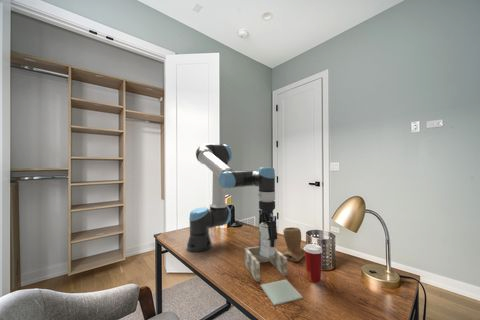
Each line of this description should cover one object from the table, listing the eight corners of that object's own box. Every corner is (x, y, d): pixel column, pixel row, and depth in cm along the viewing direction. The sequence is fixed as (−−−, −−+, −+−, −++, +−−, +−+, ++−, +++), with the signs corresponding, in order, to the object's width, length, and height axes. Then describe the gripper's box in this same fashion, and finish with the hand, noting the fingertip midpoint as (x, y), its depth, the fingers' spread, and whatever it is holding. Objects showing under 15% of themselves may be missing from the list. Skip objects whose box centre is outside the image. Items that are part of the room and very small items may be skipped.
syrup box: (265, 250, 95) (265, 220, 96) (276, 254, 92) (275, 222, 92) (258, 254, 91) (258, 223, 91) (269, 258, 87) (269, 225, 87)
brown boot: (289, 248, 118) (288, 223, 119) (309, 253, 111) (308, 227, 111) (277, 258, 106) (276, 230, 107) (298, 264, 99) (297, 234, 99)
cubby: (244, 264, 100) (244, 248, 101) (270, 259, 105) (270, 244, 105) (256, 282, 85) (256, 263, 85) (287, 275, 89) (286, 257, 89)
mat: (260, 286, 82) (260, 284, 82) (285, 280, 86) (285, 279, 86) (274, 305, 70) (273, 304, 70) (302, 298, 74) (302, 296, 74)
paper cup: (325, 278, 87) (324, 246, 87) (319, 286, 81) (318, 252, 81) (308, 272, 92) (307, 242, 92) (301, 279, 86) (300, 247, 86)
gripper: (251, 197, 100) (252, 242, 100) (269, 205, 81) (270, 261, 80) (265, 196, 103) (265, 240, 102) (285, 204, 83) (286, 258, 83)
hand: (267, 249), depth 91 cm, fingers closed on syrup box, 7 cm apart
